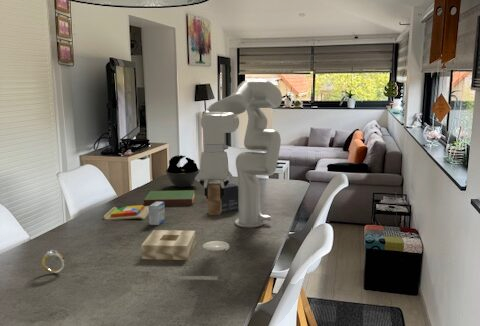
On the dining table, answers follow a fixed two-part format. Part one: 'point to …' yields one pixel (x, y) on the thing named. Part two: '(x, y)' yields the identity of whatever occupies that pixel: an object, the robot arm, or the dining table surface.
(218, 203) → the walnut peg
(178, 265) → the dining table surface
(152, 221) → the medicine box
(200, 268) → the dining table surface
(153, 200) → the hardcover book
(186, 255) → the birch pocket block
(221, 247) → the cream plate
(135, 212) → the wooden puzzle
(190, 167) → the bowl of black rocks
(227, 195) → the small box
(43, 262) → the bracelet
